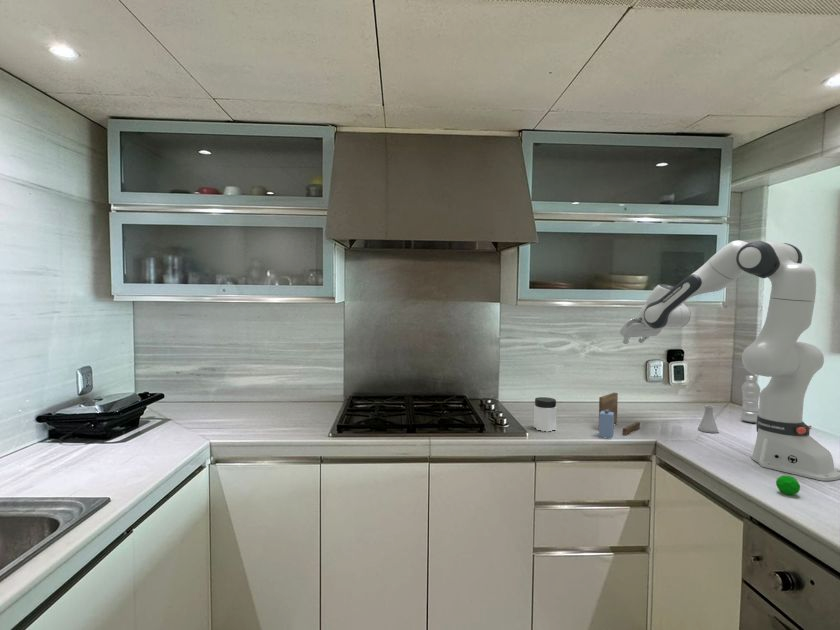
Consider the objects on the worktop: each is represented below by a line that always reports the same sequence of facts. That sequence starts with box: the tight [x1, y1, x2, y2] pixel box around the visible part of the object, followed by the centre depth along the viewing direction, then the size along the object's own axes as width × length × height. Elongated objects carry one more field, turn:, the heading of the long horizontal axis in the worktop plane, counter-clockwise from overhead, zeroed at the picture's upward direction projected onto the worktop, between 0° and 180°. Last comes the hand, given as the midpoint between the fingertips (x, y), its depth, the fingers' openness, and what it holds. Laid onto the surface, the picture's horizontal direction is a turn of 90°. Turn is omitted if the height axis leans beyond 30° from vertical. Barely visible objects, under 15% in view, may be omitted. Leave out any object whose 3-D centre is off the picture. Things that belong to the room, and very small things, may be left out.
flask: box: [697, 404, 719, 434], centre depth 182 cm, size 7×7×10 cm
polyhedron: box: [775, 474, 801, 496], centre depth 123 cm, size 5×5×5 cm
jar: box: [533, 396, 558, 432], centre depth 182 cm, size 9×8×12 cm
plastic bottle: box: [740, 374, 761, 423], centre depth 196 cm, size 6×7×20 cm
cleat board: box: [598, 392, 641, 436], centre depth 183 cm, size 11×14×13 cm
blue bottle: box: [598, 409, 615, 439], centre depth 174 cm, size 4×5×10 cm
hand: (632, 342), depth 200 cm, fingers open, 8 cm apart
